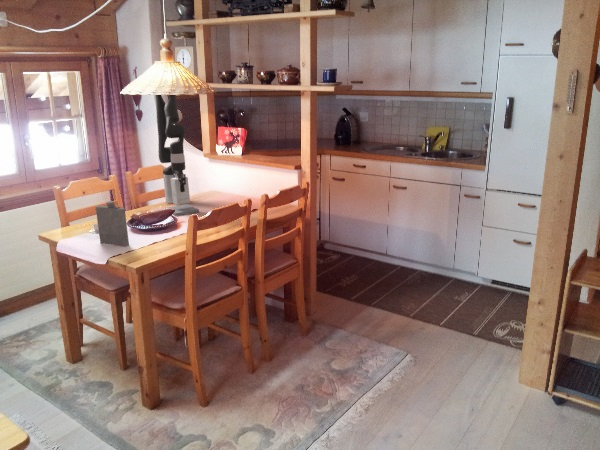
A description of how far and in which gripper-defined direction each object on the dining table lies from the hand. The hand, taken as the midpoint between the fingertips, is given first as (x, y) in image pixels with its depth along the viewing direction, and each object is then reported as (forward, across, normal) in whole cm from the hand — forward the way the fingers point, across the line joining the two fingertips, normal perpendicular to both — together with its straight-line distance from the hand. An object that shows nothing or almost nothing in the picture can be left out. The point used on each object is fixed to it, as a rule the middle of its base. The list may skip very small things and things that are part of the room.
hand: (180, 190), depth 297 cm
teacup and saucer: (+13, +14, -49) cm, 53 cm away
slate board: (+12, 0, 0) cm, 12 cm away
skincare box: (+7, 0, 0) cm, 7 cm away
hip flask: (+12, +38, -47) cm, 61 cm away
